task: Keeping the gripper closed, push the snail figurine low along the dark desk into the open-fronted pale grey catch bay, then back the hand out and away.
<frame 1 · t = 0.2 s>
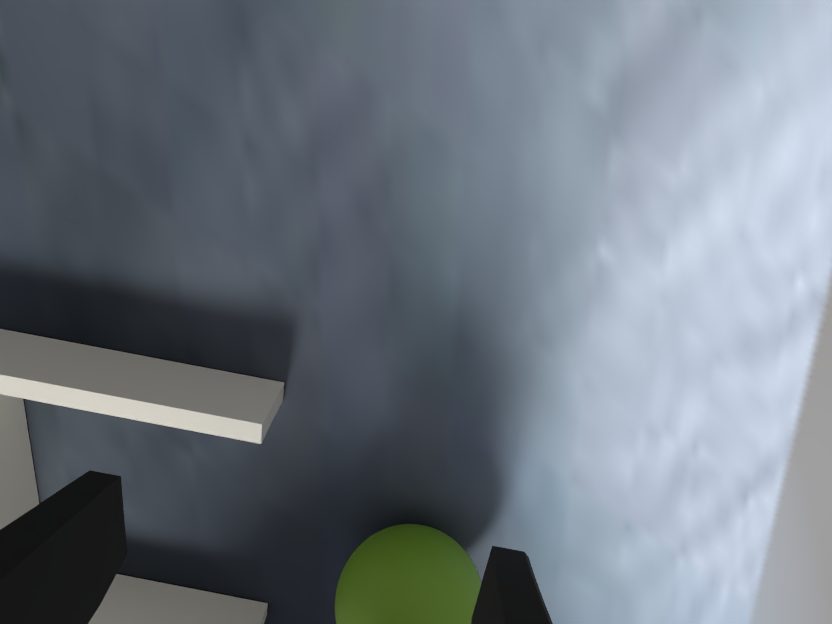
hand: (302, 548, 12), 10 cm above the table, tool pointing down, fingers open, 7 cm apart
snail figurine: (409, 533, 25), on the table
catch bay: (153, 488, 25), on the table
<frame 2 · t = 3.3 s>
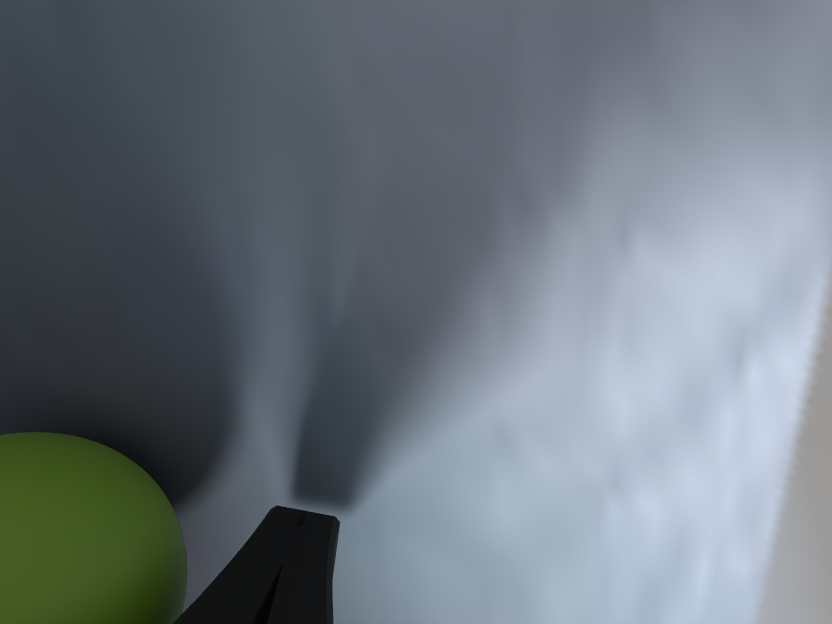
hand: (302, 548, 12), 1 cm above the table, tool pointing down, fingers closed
snail figurine: (94, 464, 13), on the table, touching gripper
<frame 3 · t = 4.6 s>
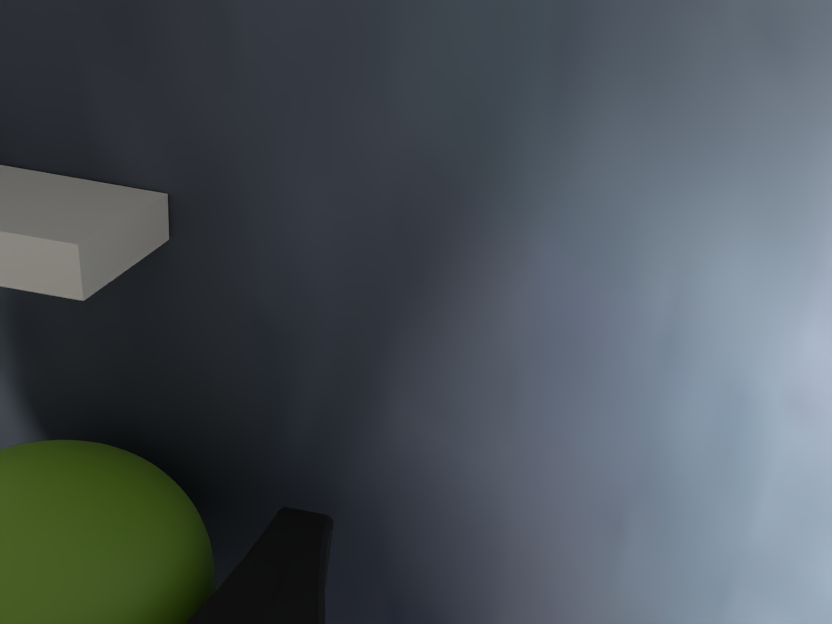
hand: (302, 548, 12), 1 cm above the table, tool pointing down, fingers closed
snail figurine: (130, 471, 13), on the table, touching gripper
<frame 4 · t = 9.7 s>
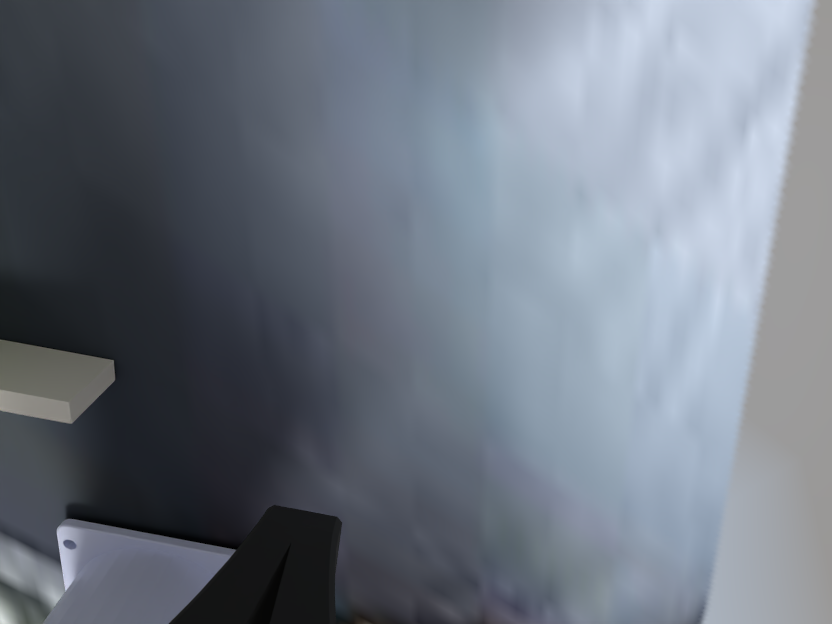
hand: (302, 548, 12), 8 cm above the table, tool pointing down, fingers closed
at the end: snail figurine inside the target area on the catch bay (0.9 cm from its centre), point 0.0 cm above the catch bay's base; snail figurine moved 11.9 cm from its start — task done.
